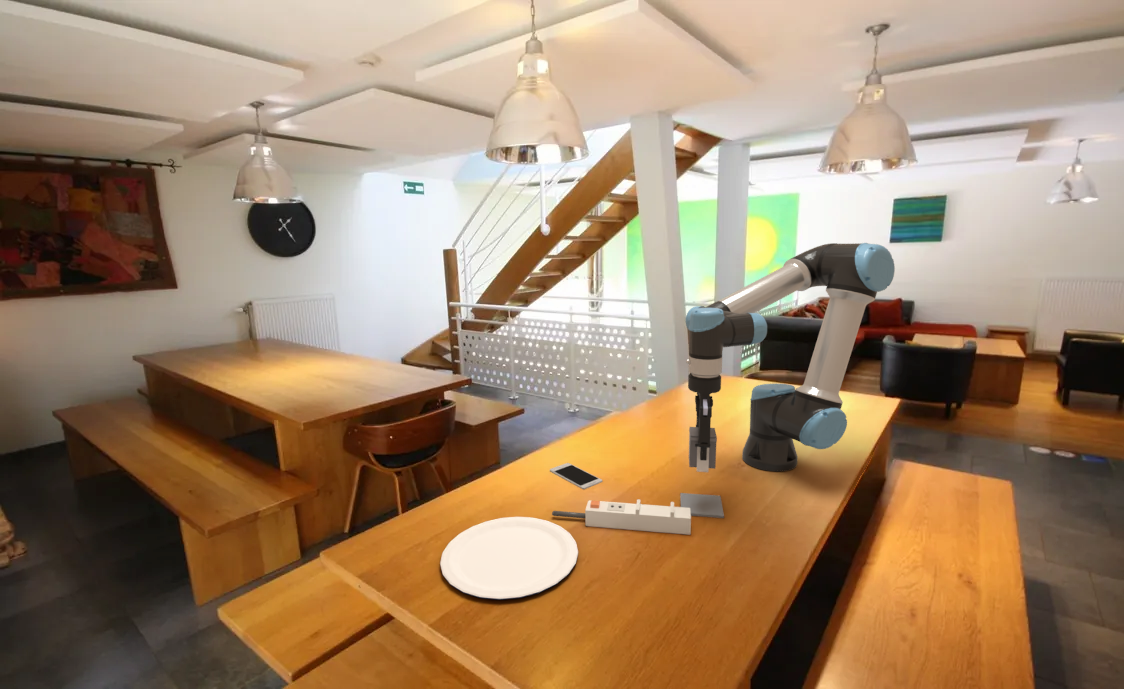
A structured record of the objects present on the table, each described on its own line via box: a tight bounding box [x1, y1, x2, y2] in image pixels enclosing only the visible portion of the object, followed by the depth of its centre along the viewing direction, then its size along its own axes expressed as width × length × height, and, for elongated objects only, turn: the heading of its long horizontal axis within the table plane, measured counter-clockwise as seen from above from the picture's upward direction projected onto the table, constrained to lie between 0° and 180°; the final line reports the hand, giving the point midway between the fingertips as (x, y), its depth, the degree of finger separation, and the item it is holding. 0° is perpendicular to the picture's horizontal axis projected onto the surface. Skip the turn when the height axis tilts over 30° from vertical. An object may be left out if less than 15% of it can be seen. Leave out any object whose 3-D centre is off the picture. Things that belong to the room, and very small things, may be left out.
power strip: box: [551, 499, 692, 536], centre depth 124 cm, size 33×5×5 cm, turn 78°
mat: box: [679, 492, 725, 519], centre depth 131 cm, size 10×10×1 cm
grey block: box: [688, 426, 718, 469], centre depth 128 cm, size 6×6×8 cm
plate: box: [439, 516, 579, 601], centre depth 113 cm, size 29×29×2 cm
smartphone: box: [549, 462, 603, 490], centre depth 150 cm, size 7×15×1 cm, turn 38°
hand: (701, 465), depth 129 cm, fingers closed on grey block, 6 cm apart
